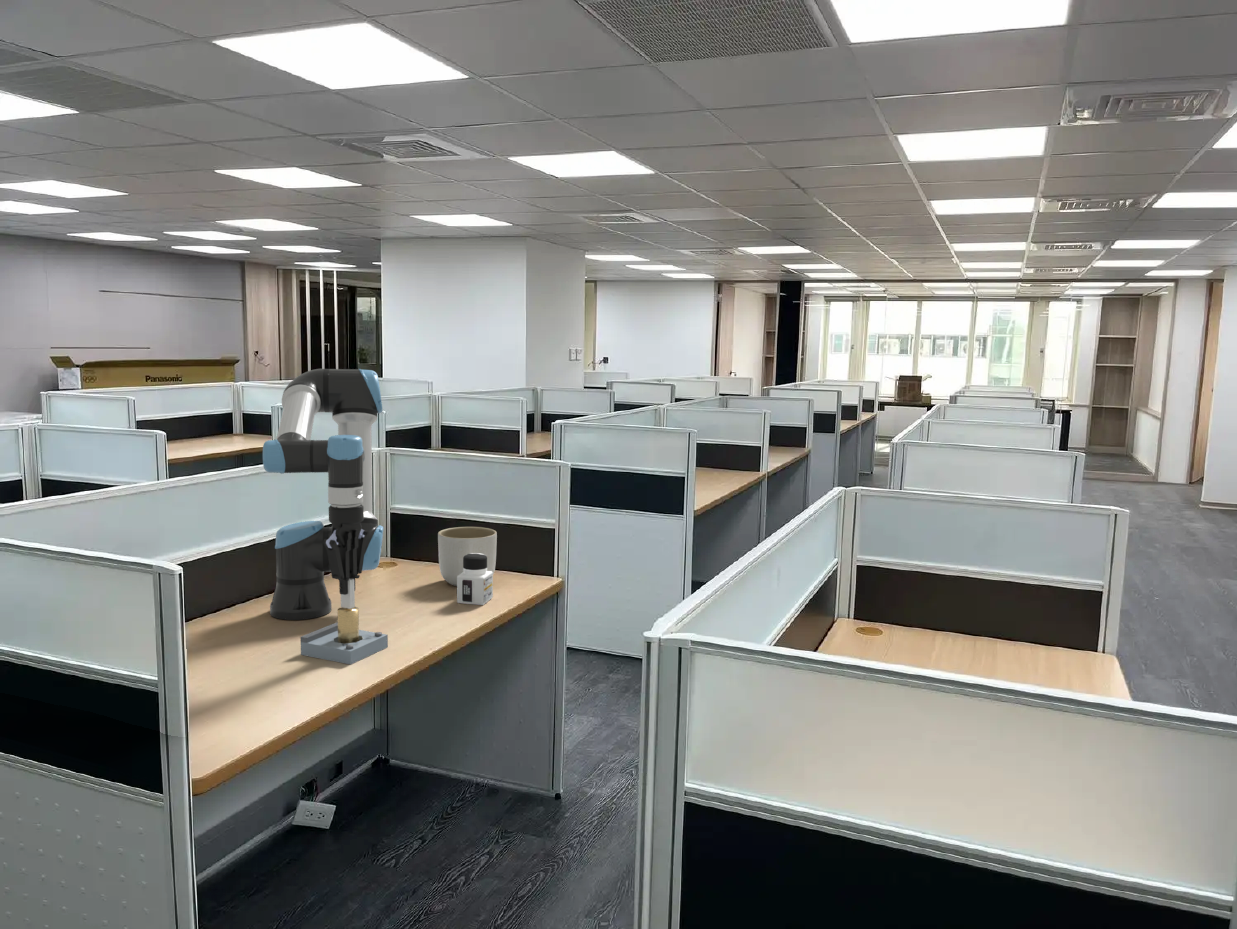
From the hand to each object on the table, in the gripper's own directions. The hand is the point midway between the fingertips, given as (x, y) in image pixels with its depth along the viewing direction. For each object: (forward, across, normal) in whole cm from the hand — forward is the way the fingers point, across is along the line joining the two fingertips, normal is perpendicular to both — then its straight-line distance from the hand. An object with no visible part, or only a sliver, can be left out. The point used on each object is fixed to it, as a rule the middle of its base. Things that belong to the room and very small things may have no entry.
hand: (347, 607), depth 209 cm
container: (+11, +49, -3) cm, 50 cm away
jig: (+11, 0, +1) cm, 11 cm away
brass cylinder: (+11, 0, 0) cm, 11 cm away
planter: (+11, +64, +9) cm, 66 cm away
